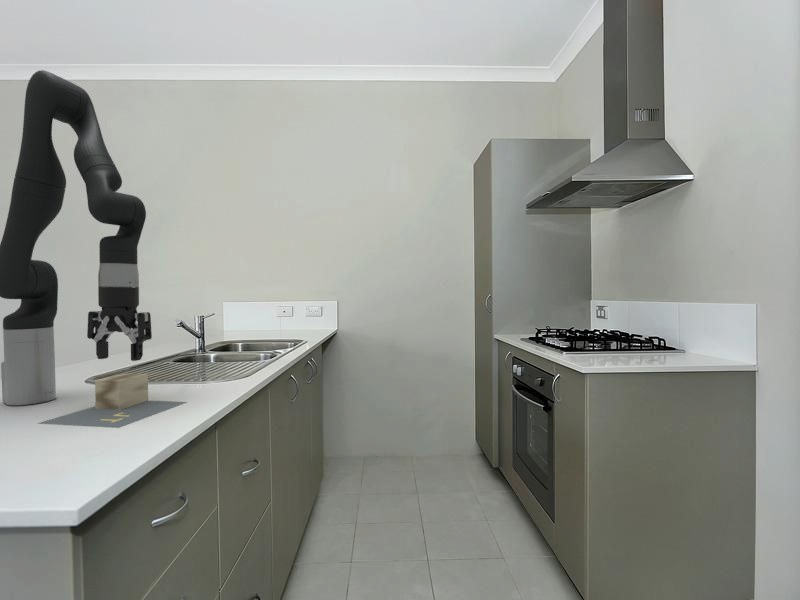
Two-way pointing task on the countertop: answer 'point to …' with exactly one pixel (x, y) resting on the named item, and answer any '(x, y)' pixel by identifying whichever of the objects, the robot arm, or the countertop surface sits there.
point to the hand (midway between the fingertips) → (119, 359)
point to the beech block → (121, 391)
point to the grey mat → (113, 415)
